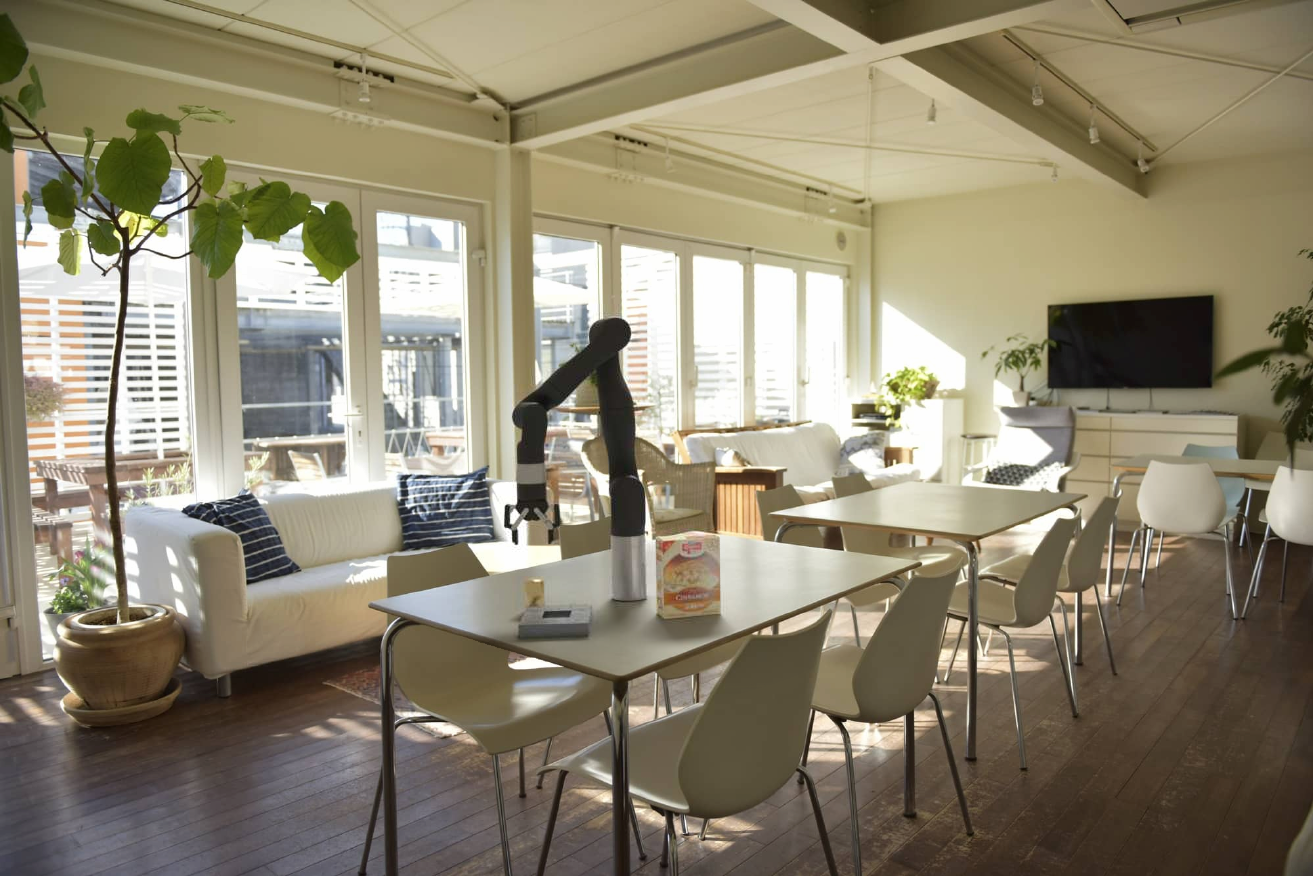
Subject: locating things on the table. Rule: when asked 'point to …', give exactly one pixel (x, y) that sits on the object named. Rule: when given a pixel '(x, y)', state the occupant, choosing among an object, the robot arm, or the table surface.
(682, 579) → the coffeecake box
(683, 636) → the table surface
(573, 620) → the block
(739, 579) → the table surface
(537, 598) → the short tan cylinder
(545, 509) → the robot arm
